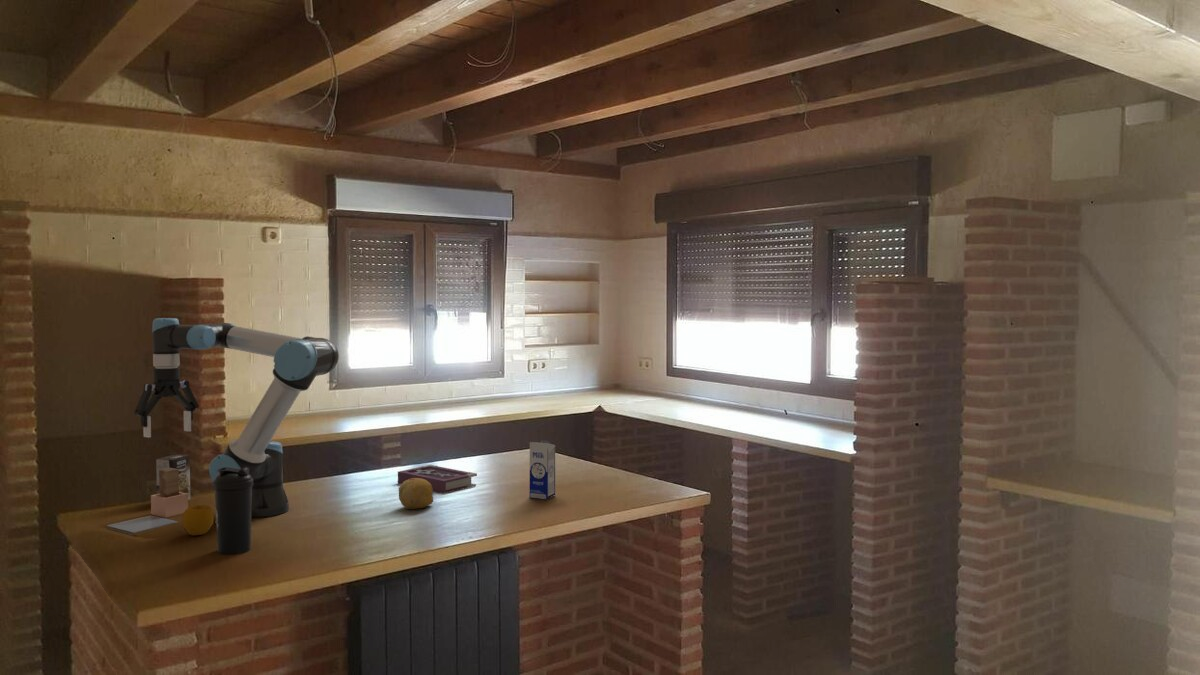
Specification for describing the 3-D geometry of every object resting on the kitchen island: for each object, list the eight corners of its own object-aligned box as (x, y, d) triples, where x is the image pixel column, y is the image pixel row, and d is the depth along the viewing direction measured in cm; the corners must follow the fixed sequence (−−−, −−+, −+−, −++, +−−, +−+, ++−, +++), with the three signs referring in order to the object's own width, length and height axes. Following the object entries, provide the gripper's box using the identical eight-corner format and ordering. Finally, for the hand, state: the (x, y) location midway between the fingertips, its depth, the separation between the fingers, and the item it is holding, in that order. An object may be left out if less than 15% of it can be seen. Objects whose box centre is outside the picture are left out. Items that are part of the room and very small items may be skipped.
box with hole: (188, 515, 280) (187, 493, 280) (165, 520, 273) (165, 498, 273) (173, 512, 284) (173, 490, 283) (151, 517, 277) (150, 495, 277)
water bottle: (221, 545, 248) (220, 464, 247) (258, 544, 249) (257, 464, 248) (208, 556, 238) (207, 472, 237) (247, 555, 239) (246, 472, 238)
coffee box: (173, 508, 289) (172, 459, 288) (156, 507, 290) (155, 458, 289) (191, 501, 298) (190, 454, 297) (174, 500, 299) (173, 453, 298)
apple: (193, 540, 253) (192, 510, 252) (175, 536, 257) (175, 506, 257) (220, 533, 260) (219, 504, 259) (202, 529, 264) (202, 500, 264)
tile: (178, 525, 268) (178, 521, 268) (134, 536, 256) (134, 532, 256) (151, 518, 275) (151, 515, 275) (106, 529, 263) (106, 525, 263)
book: (476, 486, 325) (476, 473, 325) (444, 494, 312) (444, 480, 312) (430, 477, 340) (430, 464, 340) (397, 484, 328) (397, 471, 327)
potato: (440, 506, 294) (440, 477, 293) (410, 514, 284) (410, 483, 283) (420, 501, 300) (420, 472, 299) (390, 508, 290) (390, 479, 290)
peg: (179, 512, 279) (178, 469, 278) (167, 515, 276) (166, 471, 275) (171, 510, 281) (170, 467, 281) (160, 513, 278) (159, 470, 277)
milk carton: (529, 498, 306) (529, 441, 305) (537, 493, 313) (537, 438, 311) (547, 500, 304) (547, 442, 303) (555, 495, 310) (555, 439, 309)
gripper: (195, 363, 289) (196, 427, 290) (120, 369, 267) (122, 438, 268) (209, 364, 285) (210, 429, 286) (135, 370, 263) (136, 440, 265)
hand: (167, 434), depth 277 cm, fingers open, 13 cm apart
